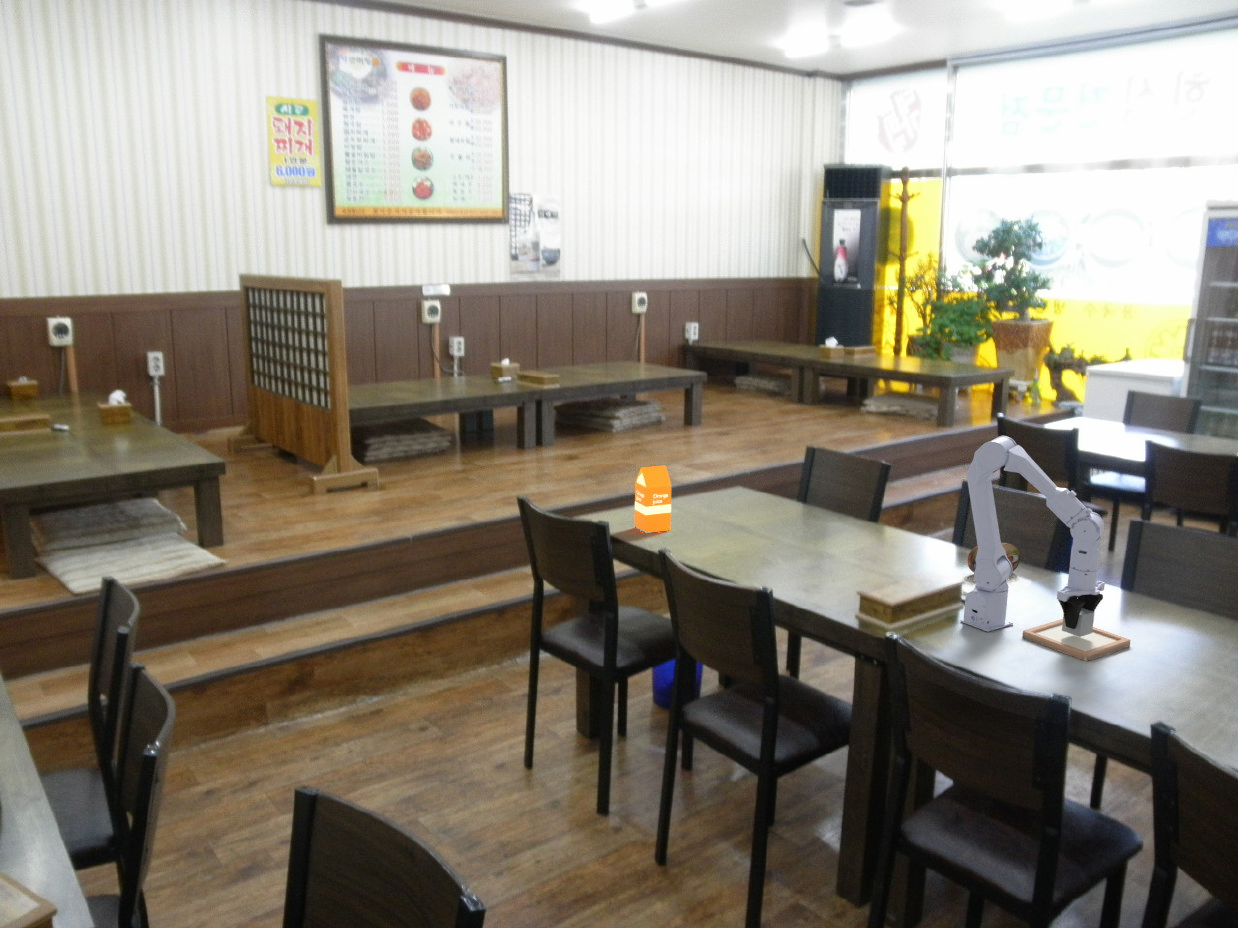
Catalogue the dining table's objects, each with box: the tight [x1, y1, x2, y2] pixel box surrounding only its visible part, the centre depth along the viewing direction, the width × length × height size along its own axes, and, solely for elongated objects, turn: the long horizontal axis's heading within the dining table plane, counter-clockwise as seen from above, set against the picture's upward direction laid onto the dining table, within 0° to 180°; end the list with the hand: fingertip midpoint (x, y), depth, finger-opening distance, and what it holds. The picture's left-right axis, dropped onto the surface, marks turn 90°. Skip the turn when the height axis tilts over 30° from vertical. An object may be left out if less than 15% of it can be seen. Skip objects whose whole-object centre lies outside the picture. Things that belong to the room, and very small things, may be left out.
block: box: [1062, 608, 1095, 637], centre depth 231 cm, size 4×4×5 cm
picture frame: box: [1022, 618, 1131, 662], centre depth 232 cm, size 16×16×2 cm
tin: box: [967, 542, 1021, 573], centre depth 279 cm, size 15×3×8 cm, turn 105°
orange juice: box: [634, 465, 672, 532], centre depth 317 cm, size 8×9×20 cm
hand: (1077, 625), depth 232 cm, fingers closed on block, 4 cm apart
